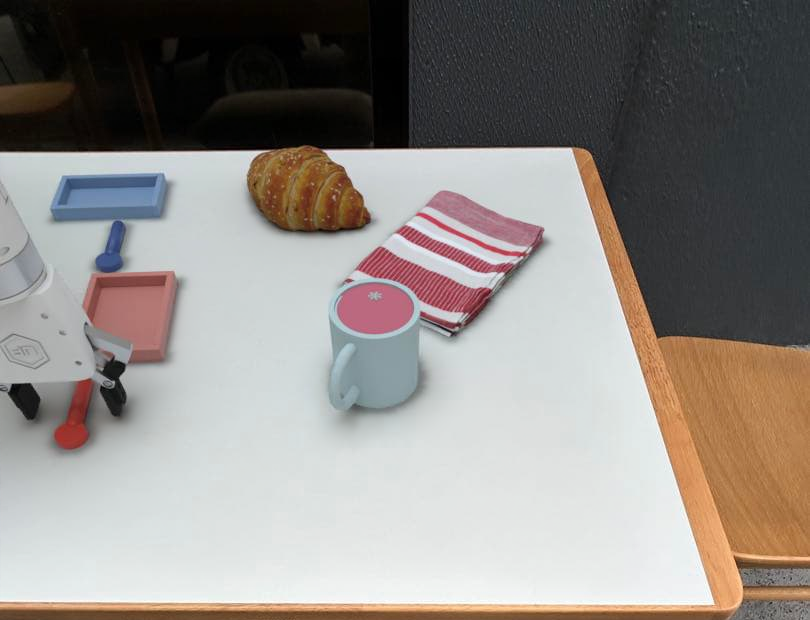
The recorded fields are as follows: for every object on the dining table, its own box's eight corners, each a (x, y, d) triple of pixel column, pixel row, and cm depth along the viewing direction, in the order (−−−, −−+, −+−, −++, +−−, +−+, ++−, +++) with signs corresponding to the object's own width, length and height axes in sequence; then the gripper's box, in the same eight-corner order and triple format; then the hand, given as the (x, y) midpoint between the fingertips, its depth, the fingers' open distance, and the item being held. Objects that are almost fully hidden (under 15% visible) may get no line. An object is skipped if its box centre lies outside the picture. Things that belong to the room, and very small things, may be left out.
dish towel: (545, 242, 89) (549, 224, 87) (455, 343, 78) (456, 324, 76) (438, 201, 94) (439, 183, 91) (339, 291, 83) (338, 272, 81)
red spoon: (74, 383, 74) (68, 373, 73) (103, 382, 74) (98, 372, 73) (55, 452, 69) (49, 442, 68) (87, 451, 69) (81, 441, 68)
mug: (361, 342, 78) (356, 268, 70) (431, 368, 76) (435, 295, 68) (298, 419, 72) (285, 348, 63) (373, 450, 70) (370, 380, 61)
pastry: (387, 212, 92) (386, 153, 85) (327, 258, 87) (321, 199, 80) (277, 163, 99) (268, 104, 92) (214, 203, 93) (200, 144, 86)
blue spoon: (109, 229, 90) (105, 218, 88) (133, 228, 90) (129, 217, 88) (96, 275, 84) (91, 264, 83) (122, 274, 84) (117, 263, 83)
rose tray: (164, 363, 76) (159, 349, 74) (75, 367, 76) (68, 352, 74) (178, 285, 84) (174, 270, 82) (97, 287, 83) (91, 273, 81)
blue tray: (56, 223, 90) (49, 208, 88) (68, 189, 94) (62, 175, 93) (160, 220, 91) (156, 205, 89) (168, 187, 95) (163, 172, 93)
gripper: (-130, 297, 54) (-16, 438, 69) (88, 289, 54) (154, 431, 69) (-99, 240, 58) (2, 386, 72) (104, 234, 58) (164, 379, 73)
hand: (76, 407), depth 71 cm, fingers open, 8 cm apart
